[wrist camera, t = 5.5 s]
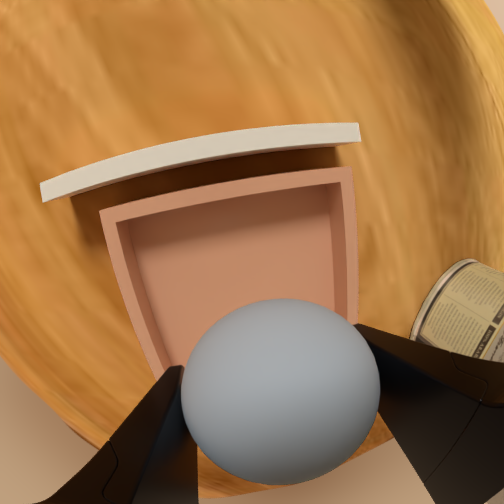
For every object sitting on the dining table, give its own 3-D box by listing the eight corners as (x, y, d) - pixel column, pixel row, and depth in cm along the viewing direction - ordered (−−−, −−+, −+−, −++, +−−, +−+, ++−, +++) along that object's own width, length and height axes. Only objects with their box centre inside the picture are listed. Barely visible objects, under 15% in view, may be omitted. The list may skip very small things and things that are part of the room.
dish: (330, 166, 12) (351, 166, 10) (339, 344, 15) (354, 364, 13) (115, 204, 11) (98, 210, 9) (171, 381, 14) (169, 406, 12)
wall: (332, 130, 12) (358, 122, 9) (334, 146, 12) (361, 141, 10) (66, 180, 10) (39, 183, 8) (69, 196, 11) (42, 202, 8)
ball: (329, 255, 8) (447, 339, 3) (332, 374, 10) (392, 470, 5) (165, 288, 8) (130, 426, 3) (206, 404, 9) (217, 521, 4)
